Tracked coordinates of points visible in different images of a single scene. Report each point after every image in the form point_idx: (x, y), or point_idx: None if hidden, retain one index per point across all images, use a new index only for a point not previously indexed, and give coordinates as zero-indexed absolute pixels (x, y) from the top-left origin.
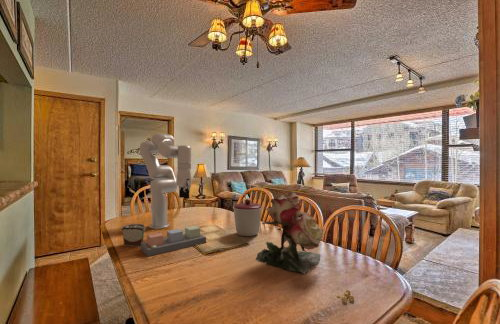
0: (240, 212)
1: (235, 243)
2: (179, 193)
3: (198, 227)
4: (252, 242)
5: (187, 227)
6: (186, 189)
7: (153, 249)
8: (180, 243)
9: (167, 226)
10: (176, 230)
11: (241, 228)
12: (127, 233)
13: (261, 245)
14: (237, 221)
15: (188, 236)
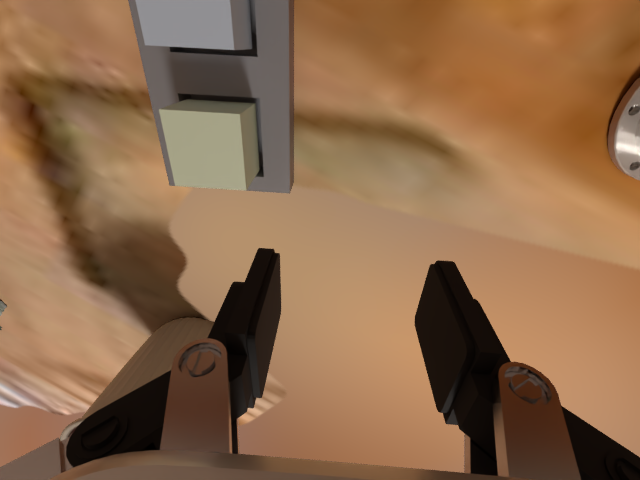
0: (107, 404)
1: (116, 256)
2: (463, 308)
3: (194, 185)
4: (103, 300)
5: (231, 129)
6: (131, 410)
7: None
8: (132, 5)
9: (609, 148)
10: (195, 15)
11: (159, 337)
12: None
13: (61, 301)
14: (162, 358)
15: (200, 102)
